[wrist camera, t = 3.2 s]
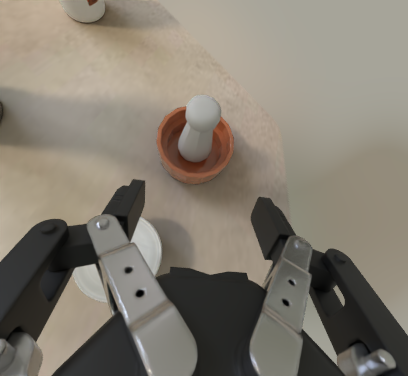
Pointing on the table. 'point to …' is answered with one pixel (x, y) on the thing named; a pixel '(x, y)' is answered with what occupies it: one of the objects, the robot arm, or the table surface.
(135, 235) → the ramekin
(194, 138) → the salt shaker
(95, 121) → the table surface
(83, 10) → the milk bottle
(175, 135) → the bowl
